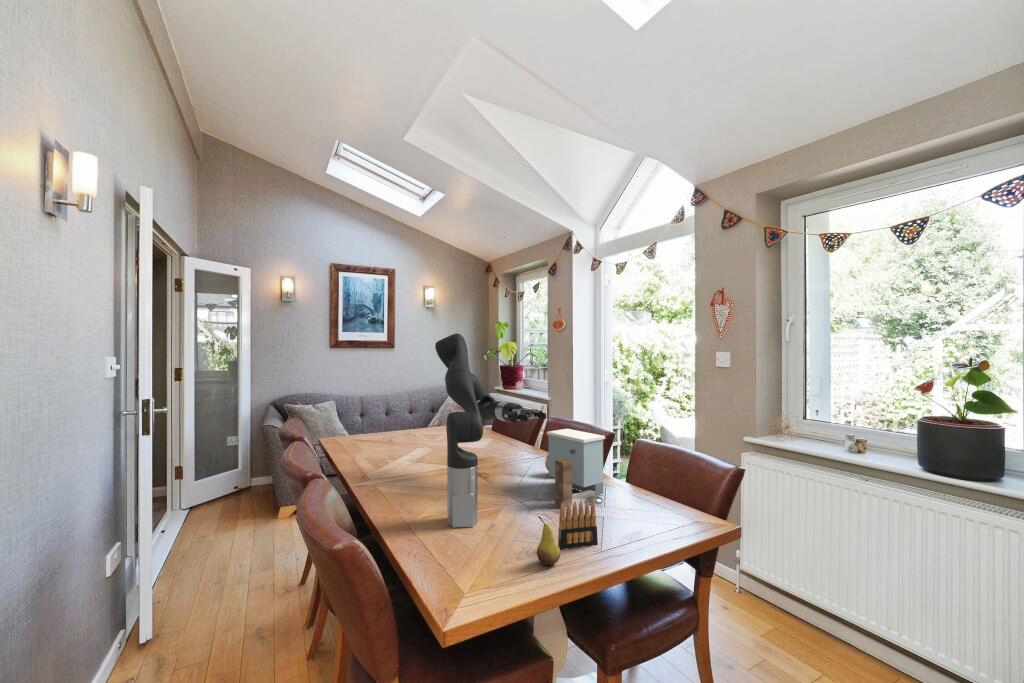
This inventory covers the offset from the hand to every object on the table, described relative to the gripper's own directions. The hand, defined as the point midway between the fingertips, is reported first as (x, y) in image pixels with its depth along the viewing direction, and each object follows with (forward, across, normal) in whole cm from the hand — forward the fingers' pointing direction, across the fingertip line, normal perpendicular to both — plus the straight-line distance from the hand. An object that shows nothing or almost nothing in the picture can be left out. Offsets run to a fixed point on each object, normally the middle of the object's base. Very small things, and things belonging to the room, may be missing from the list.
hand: (536, 417), depth 164 cm
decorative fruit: (-14, +23, +28) cm, 39 cm away
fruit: (+40, -31, +28) cm, 58 cm away
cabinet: (+4, +15, +28) cm, 32 cm away
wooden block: (+13, +6, +28) cm, 31 cm away
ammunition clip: (+37, -18, +28) cm, 50 cm away
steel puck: (+17, +11, +28) cm, 35 cm away
